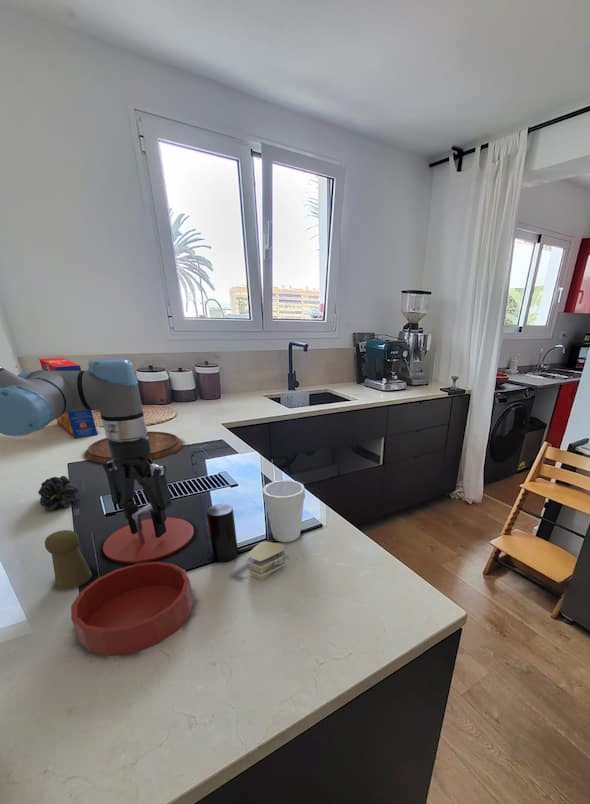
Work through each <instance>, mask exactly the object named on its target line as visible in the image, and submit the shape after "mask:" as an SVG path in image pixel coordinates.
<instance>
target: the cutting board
mask: <svg viewBox="0 0 590 804" xmlns="http://www.w3.org/2000/svg"><path fill="white" fill-rule="evenodd" d="M146 435H147V436H148V438H149V443H150V448H151V452H150V458H151V460H152V461H153V460H156V459H160V458H163V457H166V456H169V455H175V454H176V453H178V452H179V451H180V450H182V448H183V442H182V440H181V439H180V438H179V437H178V436H177V435H176V434H174V433H170V432H164V431H147V434H146ZM108 440H109V439H108V438H107V437H105V438H101V439H99V440H96V441H94V442H93V443H90V445H89V446H88V448H87V450H86V451H85V453H84V455H85V458H86V459H87V460H89V461H90V462H93V463H98V464H104V463H106V462H108V461H111V460H114V458H112V457H111V455H110V451H109V447H108V443H107V441H108Z"/></svg>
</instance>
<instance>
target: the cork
mask: <svg viewBox="0 0 590 804" xmlns="http://www.w3.org/2000/svg"><path fill="white" fill-rule="evenodd" d="M79 544H80V539H79V535H78V534H77V533H76V532H75V531H73V530H70V529H63V530H58V531H55V532H52V533H50V534H49V535H47V537H46V538H45V540H44V547H45V550H46V551H47V552H48V553H49V554H51V559H52V565H53V573H54V578H55V585H56V587H57V588H58V589H61V590H69V589H74V588H78V587H80V586H82V585H84V584H85V583H88V582H89V581H90V579H92V576H93V573H92V570H91V568H90V566H89V565H88V563H87V561H86V559H85V558H84V555H83V553H82V551H81V549H80V548H79Z"/></svg>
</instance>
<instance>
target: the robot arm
mask: <svg viewBox="0 0 590 804" xmlns="http://www.w3.org/2000/svg"><path fill="white" fill-rule="evenodd" d="M87 364H88V369H85V370H81V371H44V370H42V369H38V370H33V371H32V370H31V371H22V372H20V373H18V374H15V373H13V372H12V371H9V370H8V369H6V368H5V367H4V368H3V367H2V366H0V434H1V435H4V436H10V437H22V436H27V435H29V434H33V433H35V432H38V431H40V430H42V429H44V428H45V427H46V426H48V425H49V424H50V423H52V422H53V421H55V420H57V418H58V417H60V416H62V415H63V414H65V413H66V412H68V411H78V410H91V411H96V410H97V411H99V413H100V419H101V422H102V427H103V430H104V434H105V438H108V439H109V440H108V441H107V443H108V447H109V451H110V455H111V457H112V458H114V460H111V461H108V462H106V463H102V468H103V470H104V472H105V473H106V477H107V482H108V486H109V491H110V495H111V500H112V504H114V505H115V506H116V505H119V506H120V507H121V508H122V510H123V514H124V517H125V519H126V520H127V521H128V525H129V526H130V530H131V534H136V533H137V532H138V531H137V527H136V523H135V520H134V519H133V518H132V514H134V513H135V512H137V511H138V510H139V506H138V504H137V503H135V502H136V500H135V499H134V493H135V481H137V484H138V485H139V486H141V487H142V490H143V492H144V494H145V496H146V498H147V500H148V502H149V503H150V504H151V506H152V508H153V511H151V512H150V516H151V519H152V521H153V525H154V530H155V535H156V537H158V538H159V537H160V536H162V535H163V534H164V533H165V532H166V527H165V521H166V517H167V516H166V510H167V509H168V508H170V507H171V506H172V505H173V501H172V498H171V493H170V489H169V484H168V481H167V476H166V474H167V466H166V465H165V464H161V465H158V464H155V463H154V461H153V460H151V458H150V452H151V448H150V443H149V438H148V436H147V435H146V434H147V432H148V427H147V422H146V419H145V418H146V417H145V414H144V410H143V404H142V400H141V394H140V388H139V381H138V379H137V375H136V371H135V368H134V364H133V363H132V362H131V360H128V359H125V358H113V357H112V358H97V359H91V360H90V361H88V363H87ZM141 521H142V520H141V519H140V523H141ZM141 527H142V524H141Z"/></svg>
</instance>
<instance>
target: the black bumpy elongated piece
mask: <svg viewBox="0 0 590 804" xmlns="http://www.w3.org/2000/svg"><path fill="white" fill-rule="evenodd" d="M40 485H41V486H40V488H39V490H38V492H37V493H38V495H39V496H40V498H39V500H40V501H39V505H40V506H41V507H45V508H46V509H47V510H49V511H53V510H55V508H56V509H62V508H69V507H71V505H72V504H73V503H75V501H76V499H75V498H76V494H78V493H79V488H77V487H76V486H75V487H74V485H73V484H71V480H70V479H69V478H68V477H67V476H66V475H61V476H60V477H58V476H53V477H50V478H46V479H45V480H44V481H43V482H41V484H40Z"/></svg>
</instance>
